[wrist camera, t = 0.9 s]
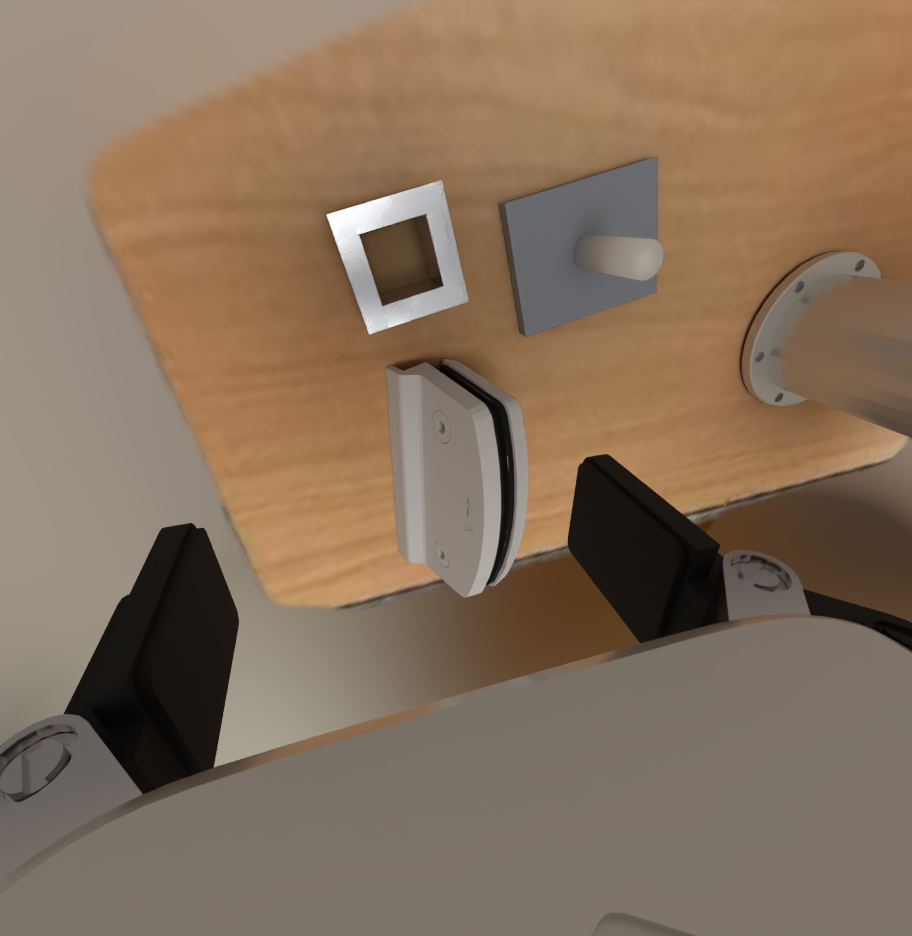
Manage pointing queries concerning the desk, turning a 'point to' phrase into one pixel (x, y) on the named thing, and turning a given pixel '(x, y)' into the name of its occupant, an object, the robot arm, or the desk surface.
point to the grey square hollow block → (437, 249)
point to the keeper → (583, 245)
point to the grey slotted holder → (457, 473)
